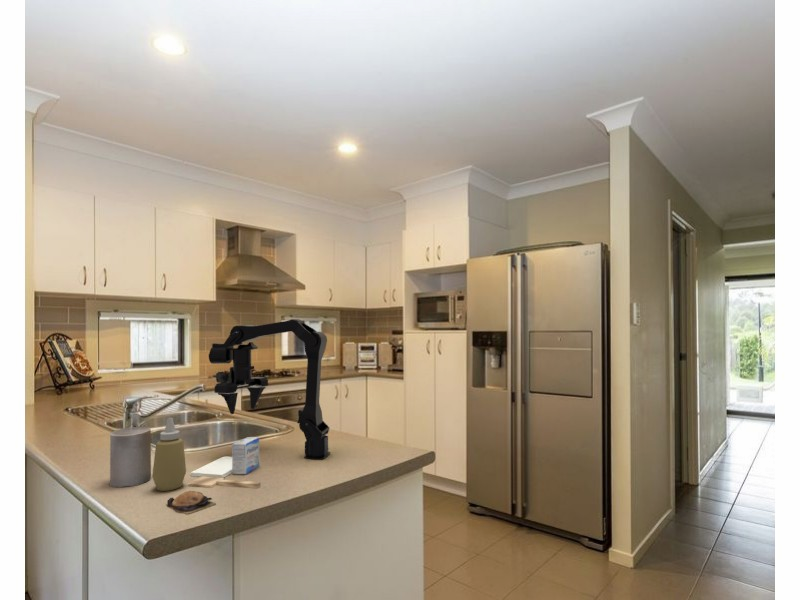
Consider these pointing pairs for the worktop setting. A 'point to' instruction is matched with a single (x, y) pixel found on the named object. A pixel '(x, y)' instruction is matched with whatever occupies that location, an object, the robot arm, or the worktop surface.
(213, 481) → the wooden turner
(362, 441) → the worktop surface
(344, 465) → the worktop surface
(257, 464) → the medicine box
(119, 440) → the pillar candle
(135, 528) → the worktop surface
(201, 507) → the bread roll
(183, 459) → the squeeze bottle
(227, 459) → the mat
